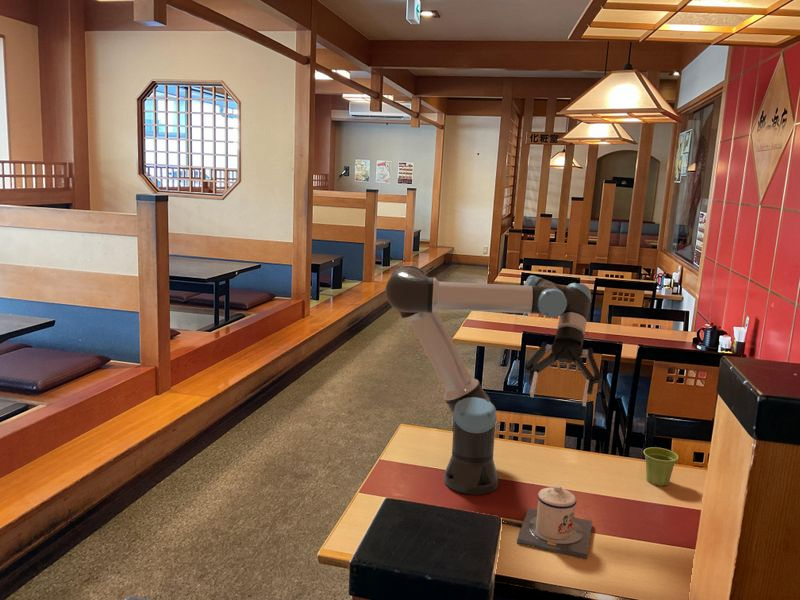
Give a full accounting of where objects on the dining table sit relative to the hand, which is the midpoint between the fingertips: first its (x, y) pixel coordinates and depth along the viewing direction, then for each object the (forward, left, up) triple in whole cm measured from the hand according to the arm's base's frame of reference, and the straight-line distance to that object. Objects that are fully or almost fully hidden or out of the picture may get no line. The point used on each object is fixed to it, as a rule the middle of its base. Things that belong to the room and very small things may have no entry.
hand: (557, 399), depth 168 cm
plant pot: (+28, +25, -29) cm, 47 cm away
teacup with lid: (+4, -17, -27) cm, 32 cm away
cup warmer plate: (0, -17, -29) cm, 33 cm away
